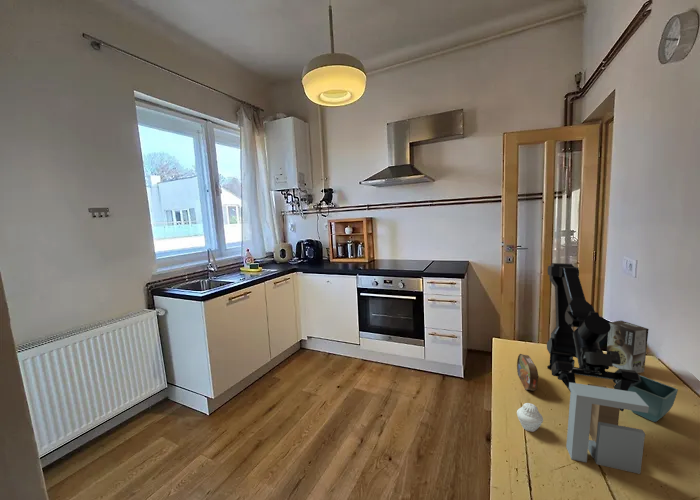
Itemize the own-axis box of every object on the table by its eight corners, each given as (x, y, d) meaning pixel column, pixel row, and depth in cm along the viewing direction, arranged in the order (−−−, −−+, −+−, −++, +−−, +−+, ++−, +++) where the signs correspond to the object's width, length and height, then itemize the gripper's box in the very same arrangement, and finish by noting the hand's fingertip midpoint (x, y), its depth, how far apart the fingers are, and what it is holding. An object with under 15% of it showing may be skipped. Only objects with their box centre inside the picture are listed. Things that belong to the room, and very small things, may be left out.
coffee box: (645, 372, 109) (650, 328, 107) (631, 374, 108) (636, 331, 105) (617, 360, 118) (621, 319, 116) (604, 362, 116) (608, 321, 114)
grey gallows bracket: (564, 442, 78) (569, 382, 76) (629, 456, 73) (636, 392, 71) (571, 459, 73) (576, 395, 70) (641, 475, 68) (650, 406, 66)
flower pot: (661, 430, 81) (665, 398, 80) (620, 411, 89) (623, 382, 88) (674, 418, 85) (678, 389, 84) (634, 401, 93) (637, 374, 92)
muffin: (514, 418, 87) (515, 395, 86) (538, 422, 85) (540, 399, 84) (518, 433, 81) (520, 409, 80) (545, 438, 79) (547, 413, 78)
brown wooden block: (584, 424, 84) (587, 383, 82) (602, 427, 83) (606, 386, 81) (595, 445, 77) (599, 401, 75) (615, 449, 75) (620, 404, 74)
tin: (515, 371, 112) (517, 349, 111) (525, 372, 111) (526, 350, 110) (527, 395, 98) (529, 370, 96) (538, 396, 97) (540, 371, 96)
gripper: (556, 333, 86) (565, 392, 77) (641, 342, 79) (661, 407, 70) (547, 348, 94) (555, 402, 85) (623, 357, 87) (640, 417, 79)
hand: (600, 407), depth 80 cm, fingers open, 9 cm apart
